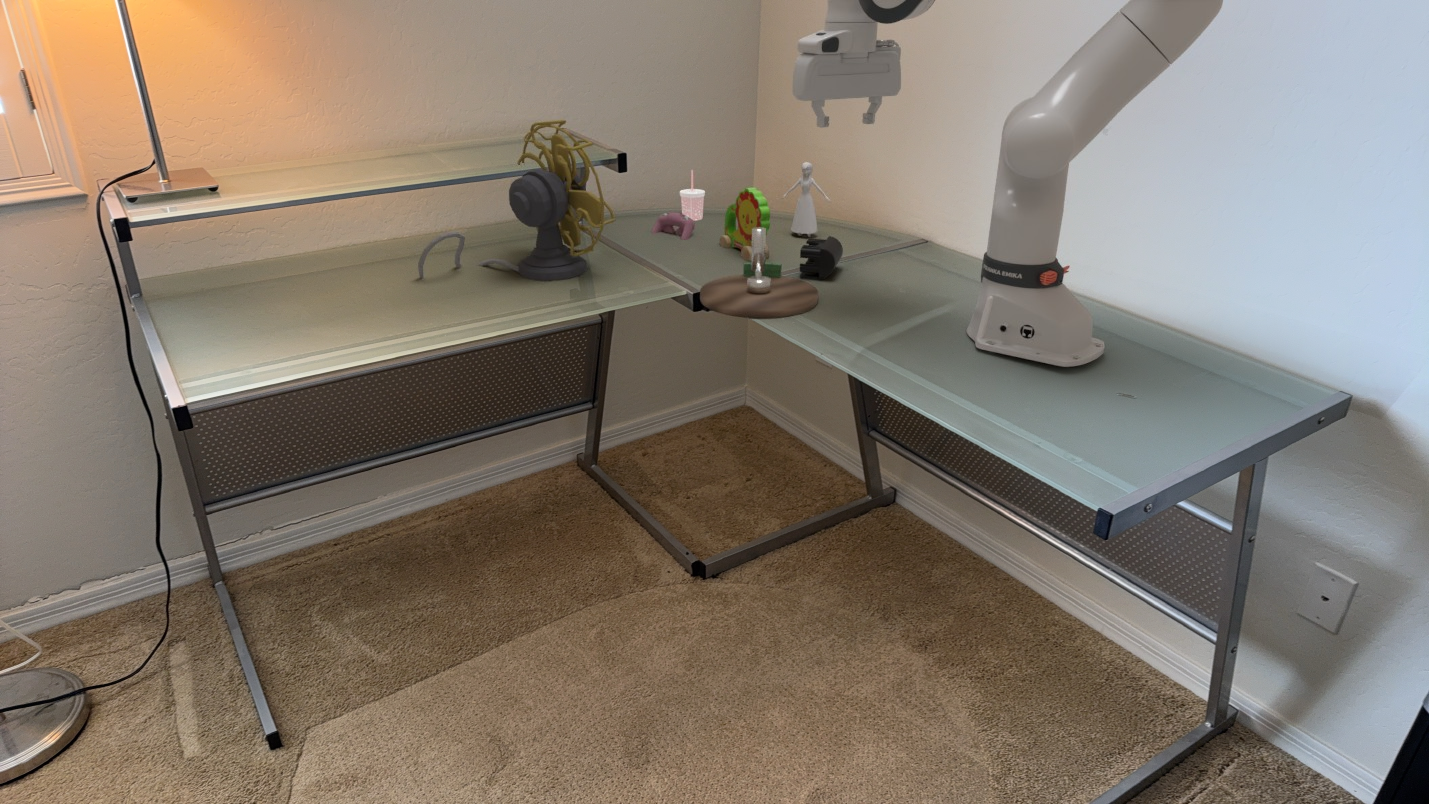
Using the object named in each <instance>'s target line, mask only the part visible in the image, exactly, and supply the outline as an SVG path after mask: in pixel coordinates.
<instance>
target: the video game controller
mask: <svg viewBox="0 0 1429 804" xmlns="http://www.w3.org/2000/svg"><path fill="white" fill-rule="evenodd" d="M695 226H696V224H695V221H693V220H692V219H691V218H689V217H687V216H686V215H684V214H682V212H681V213H679V212H665V213H661V214H660V215H659V216H658V217H657V218H656V220H655V223H654V225H653V228H652V230H651V234H658V233H660V232H662V231H663V232H665V233H670V234H674V233H675V235H679V236H681V237H680V240H681V241H686V240H689V239H691V238H692V234H693V231H694V230H695ZM674 227H678V228H677V229H676V230H675V228H674Z"/></svg>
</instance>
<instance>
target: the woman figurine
mask: <svg viewBox="0 0 1429 804" xmlns="http://www.w3.org/2000/svg"><path fill="white" fill-rule="evenodd" d="M801 172H802V175H801V177H799V178H798V180H797V182H796V183H794V184H793V185H792V187H790V189H789V190H788V191H787V192H786V193H784V194H783V195H782V196H781V198H780V200H783V199H785V198H786V196H787V195H788V194H789V193H790V192H791V191H793V190H795V189H796V188H797V187H798V186H799V185H800V188H801V193H800V195H799V197H798V200H797V203H796V207H795V212H794V215H793V220H792V223H791V228H790V231H791V232H793V233H796V234H797V236H802V235H803V234H805V235H806V234H807V237H808V238H811V236H812V234H815V233H818V232H819V231H818V225H817V224H818V223H817V214H816V208H815V202H814V198H813V195H812V194H811V193H810V189H811V188H812V185H813V186H814V187H815V189H816V190H817V191H818V192H819V193H821V194H822V195H823V196H824V197H825V201H827V203H828V202H830V203H832V201H831V199H830V198H829V197H828V196H827V195H826V193H825V192H824V191H823V189H822V188H821V187H820V186H819V185H818V184H817V182H816V181H815V179H814V178H813V177H812V174H813V172H814V167H813V165H812V163H810V162H808V161H805V162H803V163H802V164H801Z"/></svg>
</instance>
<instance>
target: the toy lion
mask: <svg viewBox="0 0 1429 804" xmlns="http://www.w3.org/2000/svg"><path fill="white" fill-rule="evenodd" d="M770 218H771V211H770V208H769V204H768V200H767V198H766V197H765V196H764V194H763V192H762V191H761V190H758V189H757V188H756V187H747V188H744V190H741V191H740V192H739V194H738V195H737V197H736V199H735V202H734V203H732V204H730V205H729V206H728V207H727V209H726V211H725V216H724V235H721V236H720V237H719V246H721V247H723V248H725V249H731V248H732V249H733V248H734V249H735V248H737V249H740V256H741V257H740V258H742V259H743V260H745V261H747V262H751V261H752V228H754V227H763V228H766V236H767V235H768V231H769V229H770V228H771V221H770ZM736 223H737V224H736ZM769 257H770V249H769V247H768V245H767V244H766V246H765V260H766V259H769Z"/></svg>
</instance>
